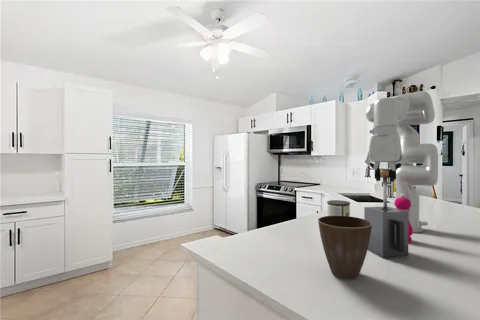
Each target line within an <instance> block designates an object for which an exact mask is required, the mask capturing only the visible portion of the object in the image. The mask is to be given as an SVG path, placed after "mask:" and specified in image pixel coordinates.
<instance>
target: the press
mask: <svg viewBox="0 0 480 320" xmlns="http://www.w3.org/2000/svg"><path fill="white" fill-rule="evenodd" d="M363 209H364V210H363V211H364V215H363V216H364V218H363V219H365V220H368V221H370V222H371V223H372V228H371V235H370V241H369V245H368V250H367V252H368V251H369V252H370V253H372V254H374V255H376V256H378V257H379V258H381V259H392V258H409V243H408V211H404V210H400V209H396V207H391V206H388V205H387V210H383V206H365V207H364V208H363Z"/></svg>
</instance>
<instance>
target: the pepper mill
mask: <svg viewBox="0 0 480 320" xmlns="http://www.w3.org/2000/svg"><path fill="white" fill-rule="evenodd" d="M404 197H405V195H404V194H401V195H400V197H399V198H397V199H396V198H395V200H394V202H393V203H394V206H395V208H396V207H397V208H396V209H400V210H404V211H408V214H409V213H410V212H409V211H410V210H409V208H410V207H411V202H410V200H409V199H407V198H404ZM413 234H414V233H413V229H412V226H411V224H410V222H409V218H408V244H410V243H412V241H413V239H412V238H413V237H411V236H412V235H413Z"/></svg>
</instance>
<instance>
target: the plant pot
mask: <svg viewBox="0 0 480 320" xmlns="http://www.w3.org/2000/svg"><path fill="white" fill-rule="evenodd" d="M317 221H318V223H317V224H318V228H319V229H318V230H319V234H320V239H321V245H322V246H323V247H322V248H323V251H324V255H325V257H326V261H327V263H328V265H329V266H328V267H329V269H330V271H331V273H332V274H333V276H335V277H337V278H340V279H343V280H355V279H357V278H358V277H359V275H360V273H361V271H362V268H363V265H364V264H365V259H366V256H367V253H368V245H369V241H370V235H371V228H372V223H371V222H370V221H368V220H365V219H364V218H361V217H356V216H351V215H350V216H328V215H326V216H322V217H321V216H320V217H318V219H317Z"/></svg>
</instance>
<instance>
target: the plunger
mask: <svg viewBox="0 0 480 320" xmlns="http://www.w3.org/2000/svg"><path fill="white" fill-rule="evenodd" d="M391 169H392V168H391ZM391 169H390V168H389V169H388V168H386V169H385V168H379V177H380V179H381V178H383V182H382V183H383V186H382V187H383V188H382V189H383V196H382V197H383V203H382V204H383V206H382V207H383V210H387V206H388V179H390V171H391Z"/></svg>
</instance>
